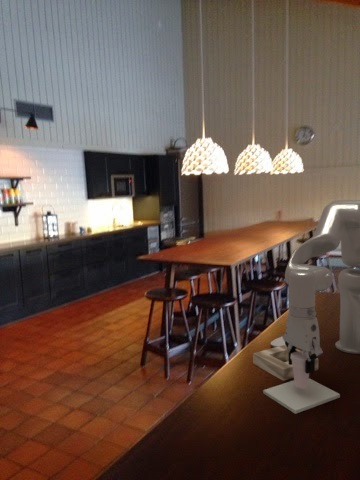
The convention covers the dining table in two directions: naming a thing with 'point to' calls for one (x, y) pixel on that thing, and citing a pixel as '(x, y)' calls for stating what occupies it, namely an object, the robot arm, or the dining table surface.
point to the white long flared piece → (278, 342)
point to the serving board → (301, 395)
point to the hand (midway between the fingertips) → (301, 367)
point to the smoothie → (299, 369)
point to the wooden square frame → (276, 362)
